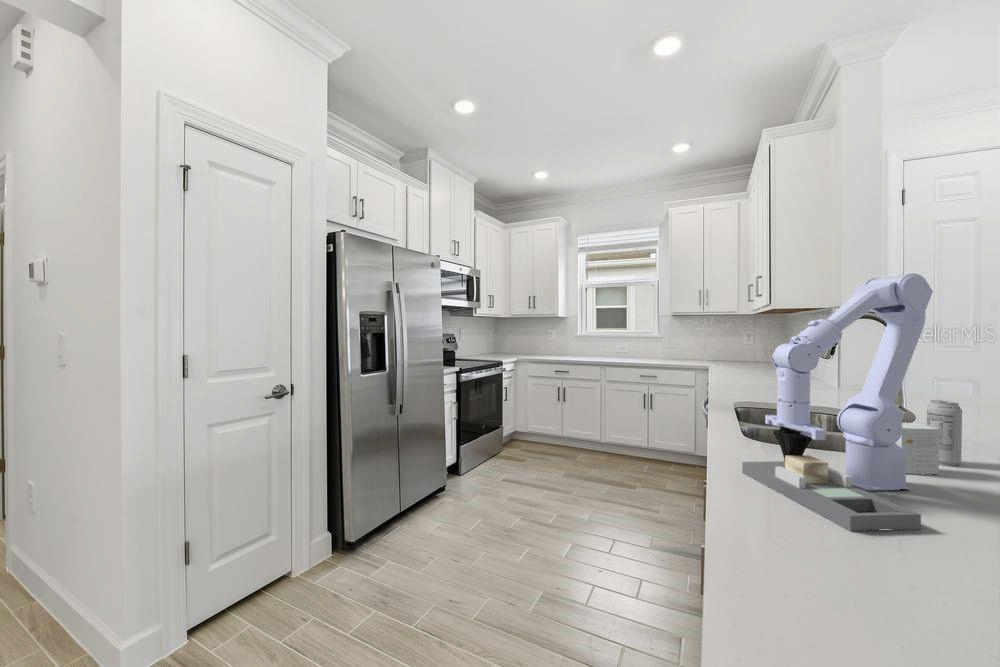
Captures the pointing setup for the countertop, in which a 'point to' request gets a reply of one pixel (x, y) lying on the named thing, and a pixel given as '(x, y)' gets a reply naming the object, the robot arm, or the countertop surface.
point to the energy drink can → (947, 429)
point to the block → (808, 468)
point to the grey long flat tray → (835, 498)
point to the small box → (920, 448)
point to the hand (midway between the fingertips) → (792, 465)
